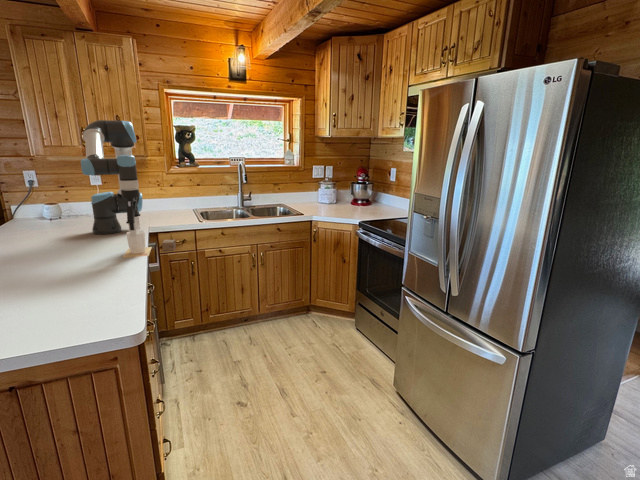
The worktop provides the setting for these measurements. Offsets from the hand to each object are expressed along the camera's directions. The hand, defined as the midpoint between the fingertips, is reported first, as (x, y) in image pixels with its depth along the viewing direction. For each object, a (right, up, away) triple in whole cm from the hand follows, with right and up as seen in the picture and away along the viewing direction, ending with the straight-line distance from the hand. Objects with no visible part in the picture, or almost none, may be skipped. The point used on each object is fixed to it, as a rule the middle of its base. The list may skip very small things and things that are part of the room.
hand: (135, 233), depth 175 cm
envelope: (+1, -10, 0) cm, 10 cm away
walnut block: (+15, -9, +4) cm, 18 cm away
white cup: (+1, -9, 0) cm, 9 cm away
